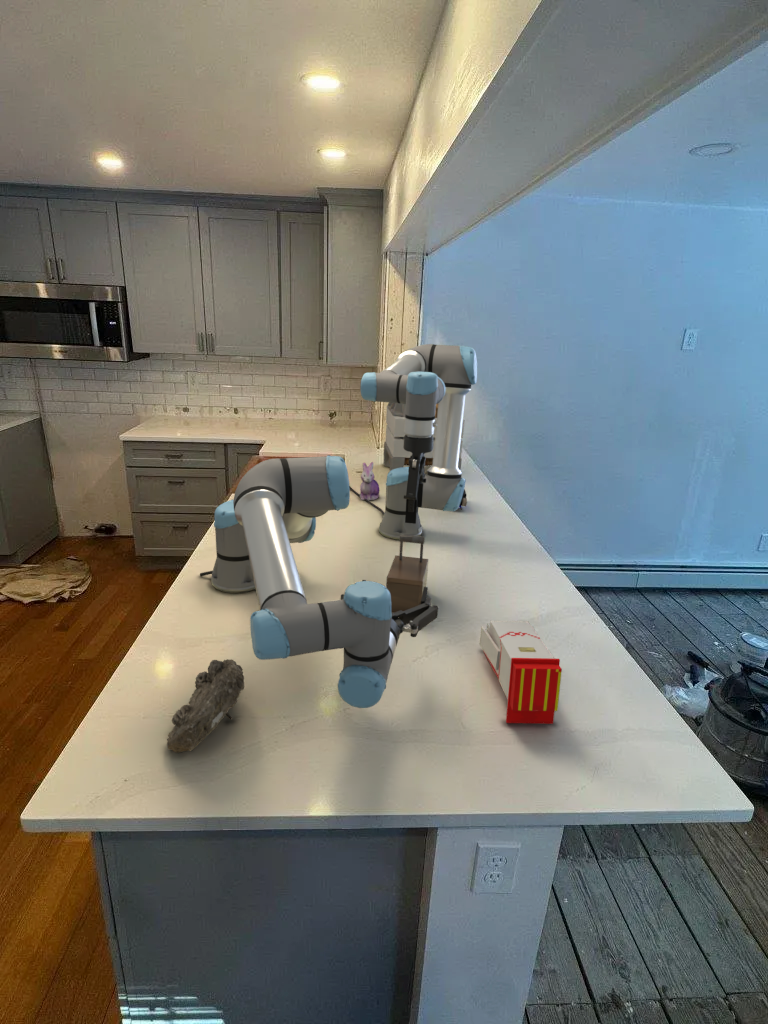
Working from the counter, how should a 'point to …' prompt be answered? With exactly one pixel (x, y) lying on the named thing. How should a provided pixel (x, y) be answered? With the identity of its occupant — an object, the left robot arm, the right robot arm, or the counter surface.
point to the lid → (408, 564)
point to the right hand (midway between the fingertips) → (413, 514)
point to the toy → (523, 670)
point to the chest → (405, 595)
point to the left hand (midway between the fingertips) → (394, 588)
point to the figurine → (368, 484)
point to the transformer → (395, 438)
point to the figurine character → (463, 500)
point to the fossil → (206, 705)
